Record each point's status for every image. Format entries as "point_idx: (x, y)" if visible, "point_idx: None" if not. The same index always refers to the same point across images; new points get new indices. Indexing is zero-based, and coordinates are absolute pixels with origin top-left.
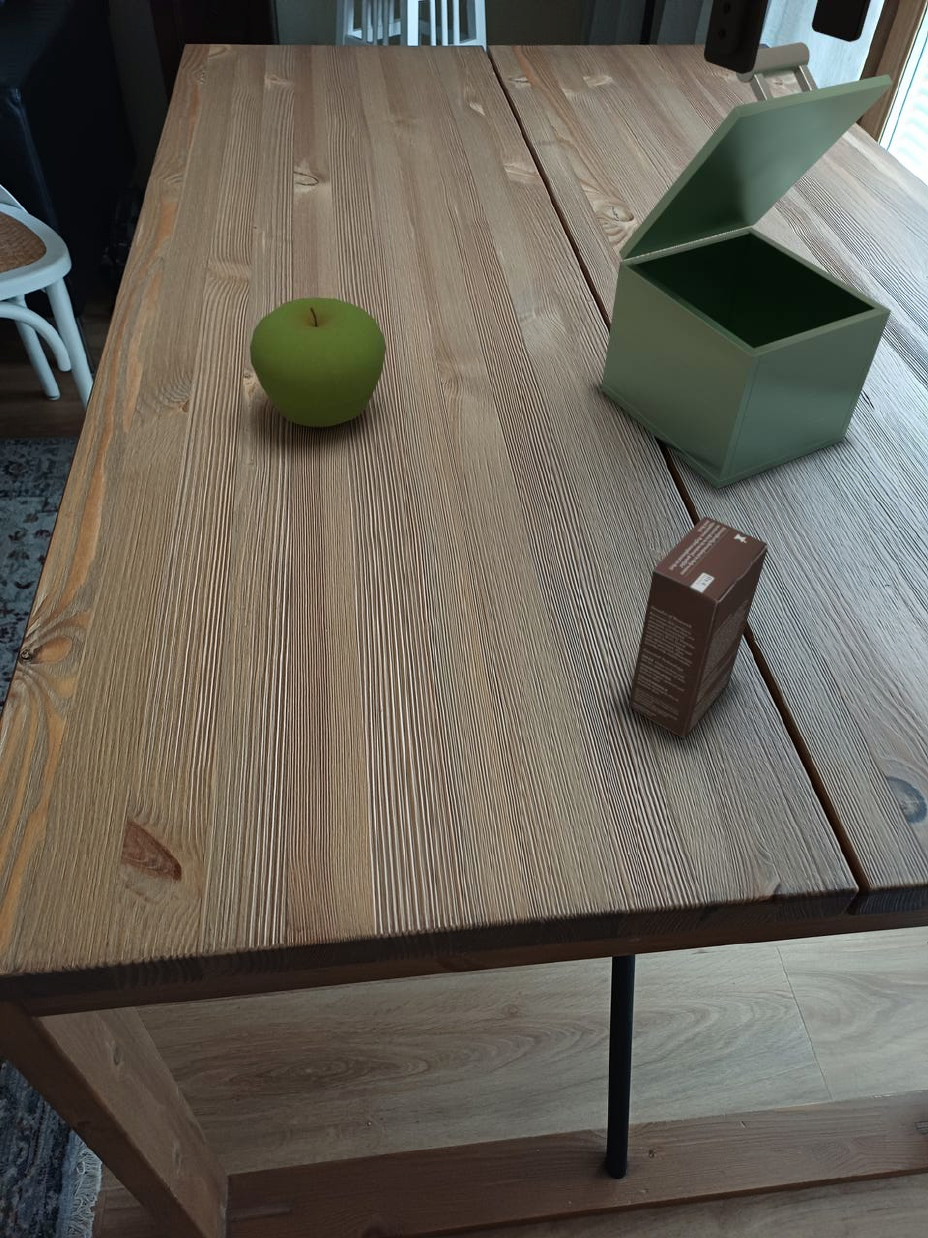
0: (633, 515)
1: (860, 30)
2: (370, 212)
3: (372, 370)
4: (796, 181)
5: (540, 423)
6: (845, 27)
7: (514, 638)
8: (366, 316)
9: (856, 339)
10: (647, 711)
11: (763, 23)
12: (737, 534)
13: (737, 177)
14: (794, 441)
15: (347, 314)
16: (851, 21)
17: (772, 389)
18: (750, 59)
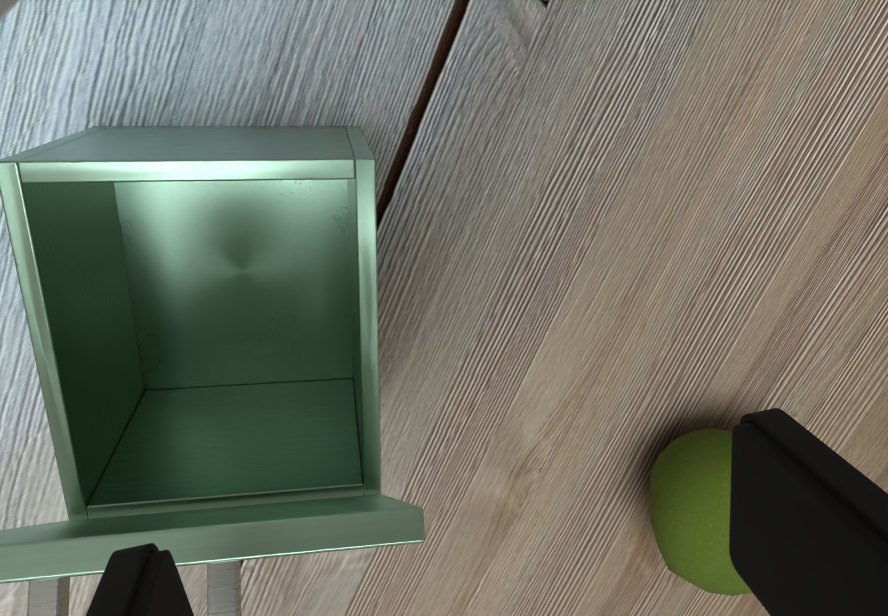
0: (495, 138)
1: (120, 566)
2: None
3: (710, 457)
4: (6, 529)
5: (482, 352)
6: (171, 600)
7: (750, 22)
8: (697, 536)
9: (94, 154)
10: None
11: (830, 504)
12: None
13: (234, 512)
14: (214, 130)
15: (727, 539)
16: (158, 606)
17: (299, 146)
18: (798, 423)
